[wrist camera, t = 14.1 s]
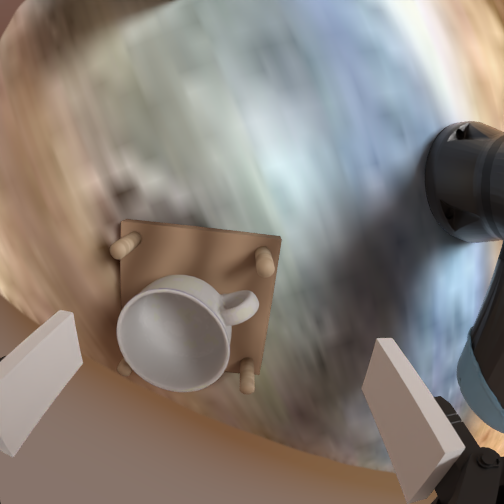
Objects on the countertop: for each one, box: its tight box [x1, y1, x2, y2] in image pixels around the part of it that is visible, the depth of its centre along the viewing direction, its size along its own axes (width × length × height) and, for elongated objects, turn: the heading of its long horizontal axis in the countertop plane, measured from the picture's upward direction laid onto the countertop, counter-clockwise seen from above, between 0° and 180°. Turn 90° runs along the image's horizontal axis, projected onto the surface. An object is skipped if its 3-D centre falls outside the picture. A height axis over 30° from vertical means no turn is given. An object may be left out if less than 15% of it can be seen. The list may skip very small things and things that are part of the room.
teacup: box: [116, 275, 259, 392], centre depth 30 cm, size 14×11×8 cm
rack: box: [110, 219, 282, 394], centre depth 33 cm, size 17×17×6 cm
